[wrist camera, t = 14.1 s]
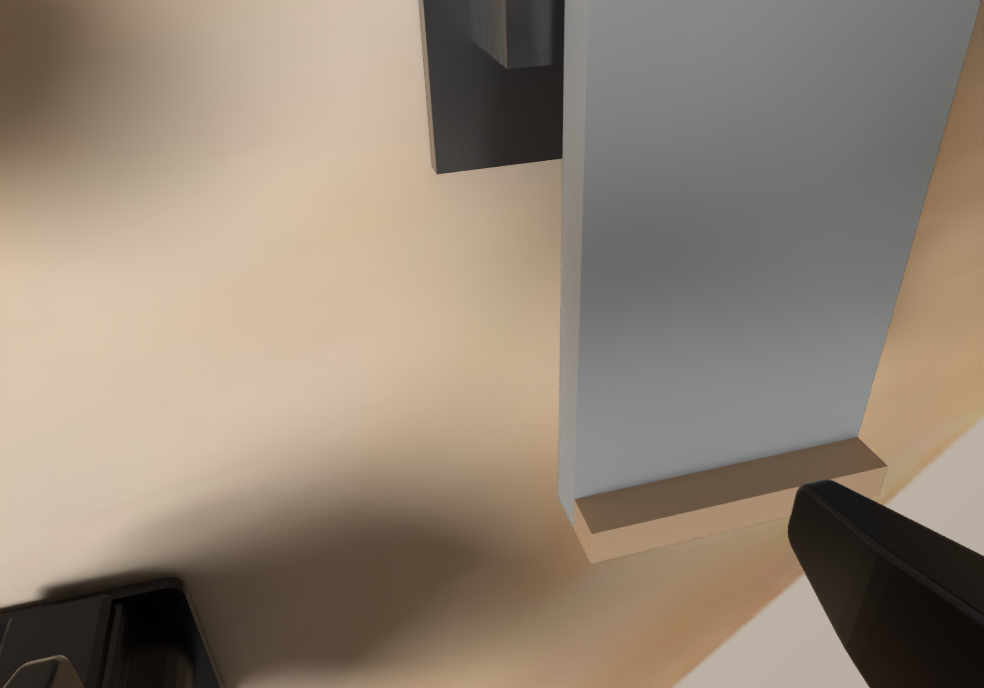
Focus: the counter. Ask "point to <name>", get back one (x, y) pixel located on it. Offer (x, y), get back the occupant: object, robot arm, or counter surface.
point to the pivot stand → (493, 81)
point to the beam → (735, 248)
